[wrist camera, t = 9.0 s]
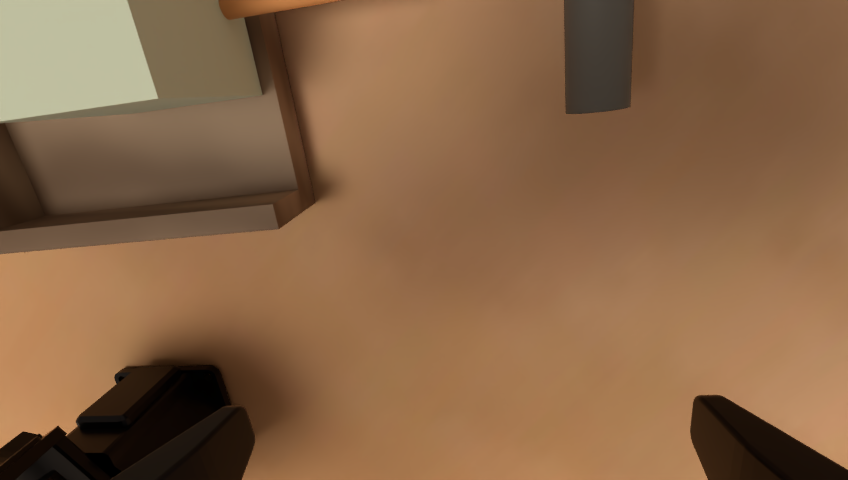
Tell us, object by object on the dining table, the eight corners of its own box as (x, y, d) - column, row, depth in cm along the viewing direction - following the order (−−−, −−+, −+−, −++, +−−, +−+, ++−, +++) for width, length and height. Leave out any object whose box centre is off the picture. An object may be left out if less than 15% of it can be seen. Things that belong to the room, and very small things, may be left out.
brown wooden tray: (315, 202, 20) (278, 228, 16) (64, 227, 22) (-20, 255, 18) (220, -234, 15) (135, -343, 11) (-96, -148, 17) (-258, -215, 13)
